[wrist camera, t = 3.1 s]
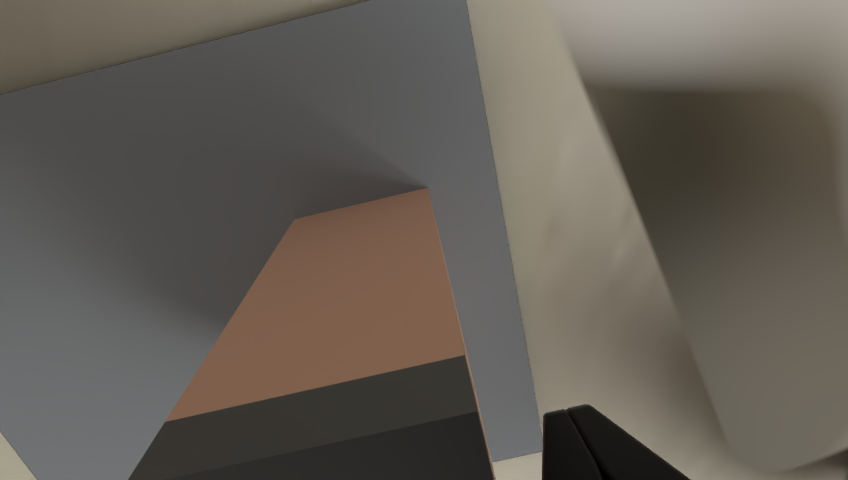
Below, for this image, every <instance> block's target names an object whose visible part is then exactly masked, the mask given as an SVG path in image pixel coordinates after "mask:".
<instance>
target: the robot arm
mask: <svg viewBox="0 0 848 480" xmlns="http://www.w3.org/2000/svg"><path fill="white" fill-rule="evenodd" d="M542 480H690V479H689V478H688V477H686V476H685V475H684V474H682V473H681V472H680V471H678V470H677V469H675V468H674V467H673V466H671V465H670V464H669V463H667V462H666V461H665V460H663V459H662V458H661V457H659V456H658V455H657V454H655V453H654V452H653V451H651V450H650V449H649V448H647V447H646V446H645V445H643V444H642V443H640V442H639V441H638V440H636V439H635V438H634V437H632V436H631V435H630V434H628V433H627V432H626V431H624V430H623V429H622V428H620V427H619V426H618V425H616V424H615V423H614V422H612V421H611V420H610V419H608V418H607V417H606V416H604V415H603V414H601V413H600V412H599V411H597V410H596V409H595V408H593V407H592V406H590V405H588V404H584V405H580V406H575V407H571V408H568V409H567V410H564V409H561V410H557V411H552V412H548V413H545V414H544V416H543V451H542Z"/></svg>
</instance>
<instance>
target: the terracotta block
mask: <svg viewBox="0 0 848 480" xmlns="http://www.w3.org/2000/svg"><path fill="white" fill-rule="evenodd" d="M128 480H496V478H495V474H494V470H493V465H492V461H491V456H490V452H489V448H488V443H487V439H486V435H485V430H484V426H483V421H482V417H481V413H480V408H479V404H478V400H477V395H476V391H475V387H474V382H473V378H472V373H471V369H470V365H469V360H468V356H467V352H466V347H465V343H464V339H463V335H462V330H461V326H460V322H459V318H458V313H457V309H456V305H455V301H454V296H453V292H452V288H451V284H450V279H449V275H448V271H447V267H446V262H445V258H444V254H443V250H442V245H441V241H440V237H439V233H438V228H437V224H436V220H435V216H434V211H433V207H432V203H431V199H430V194H429V190H428V188H424V189H420V190H415V191H411V192H407V193H403V194H399V195H394V196H390V197H386V198H382V199H378V200H373V201H369V202H365V203H361V204H357V205H352V206H348V207H344V208H340V209H336V210H331V211H327V212H323V213H319V214H315V215H310V216H306V217H302V218H298V219H294V220H293V222H292V224H291V225H290V227H289V228H288V230H287V231H286V233H285V235H284V236H283V238H282V239H281V241H280V242H279V244H278V245H277V247H276V249H275V250H274V252H273V253H272V255H271V256H270V258H269V260H268V261H267V263H266V264H265V266H264V267H263V269H262V271H261V272H260V274H259V275H258V277H257V278H256V280H255V282H254V283H253V285H252V286H251V288H250V289H249V291H248V292H247V294H246V296H245V297H244V299H243V300H242V302H241V303H240V305H239V307H238V308H237V310H236V311H235V313H234V314H233V316H232V318H231V319H230V321H229V322H228V324H227V325H226V327H225V328H224V330H223V332H222V333H221V335H220V336H219V338H218V339H217V341H216V343H215V344H214V346H213V347H212V349H211V350H210V352H209V354H208V355H207V357H206V358H205V360H204V361H203V363H202V364H201V366H200V368H199V369H198V371H197V372H196V374H195V375H194V377H193V379H192V380H191V382H190V383H189V385H188V386H187V388H186V390H185V391H184V393H183V394H182V396H181V397H180V399H179V401H178V402H177V404H176V405H175V407H174V408H173V410H172V411H171V413H170V415H169V416H168V418H167V419H166V421H165V422H164V424H163V426H162V427H161V429H160V430H159V432H158V433H157V435H156V437H155V438H154V440H153V441H152V443H151V444H150V446H149V447H148V449H147V451H146V452H145V454H144V455H143V457H142V458H141V460H140V462H139V463H138V465H137V466H136V468H135V469H134V471H133V473H132V474H131V476H130V477H129V479H128Z"/></svg>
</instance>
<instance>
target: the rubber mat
mask: <svg viewBox="0 0 848 480" xmlns="http://www.w3.org/2000/svg"><path fill="white" fill-rule="evenodd" d="M424 188H428V190H429V194H430V199H431V203H432V207H433V211H434V216H435V220H436V224H437V228H438V233H439V237H440V241H441V245H442V250H443V254H444V258H445V262H446V267H447V271H448V275H449V279H450V284H451V288H452V292H453V296H454V301H455V305H456V309H457V313H458V318H459V322H460V326H461V330H462V335H463V339H464V343H465V347H466V352H467V356H468V360H469V365H470V369H471V373H472V378H473V382H474V387H475V391H476V395H477V400H478V404H479V408H480V413H481V417H482V421H483V426H484V430H485V435H486V439H487V443H488V448H489V452H490V456H491V461H492V462H496V461H501V460H506V459H510V458H515V457H519V456H524V455H529V454H533V453H538V452H542V451H543V439H542V433H541V428H540V422H539V416H538V410H537V405H536V399H535V393H534V387H533V382H532V376H531V370H530V365H529V359H528V353H527V347H526V342H525V336H524V330H523V324H522V319H521V313H520V307H519V302H518V296H517V290H516V284H515V279H514V273H513V267H512V261H511V256H510V250H509V244H508V239H507V233H506V227H505V221H504V216H503V210H502V204H501V198H500V193H499V187H498V181H497V176H496V170H495V164H494V158H493V153H492V147H491V141H490V135H489V130H488V124H487V118H486V113H485V107H484V101H483V95H482V90H481V84H480V78H479V72H478V67H477V61H476V55H475V50H474V44H473V38H472V32H471V27H470V21H469V15H468V9H467V4H466V0H370V1H366V2H362V3H358V4H354V5H350V6H346V7H342V8H338V9H335V10H331V11H327V12H323V13H319V14H315V15H311V16H307V17H303V18H299V19H295V20H291V21H287V22H283V23H280V24H276V25H272V26H268V27H264V28H260V29H256V30H252V31H248V32H244V33H240V34H236V35H232V36H228V37H225V38H221V39H217V40H213V41H209V42H205V43H201V44H197V45H193V46H189V47H185V48H181V49H177V50H173V51H170V52H166V53H162V54H158V55H154V56H150V57H146V58H142V59H138V60H134V61H130V62H126V63H122V64H118V65H115V66H111V67H107V68H103V69H99V70H95V71H91V72H87V73H83V74H79V75H75V76H71V77H67V78H63V79H60V80H56V81H52V82H48V83H44V84H40V85H36V86H32V87H28V88H24V89H20V90H16V91H12V92H8V93H5V94H1V95H0V432H1V433H2V435H3V436H4V437H5V439H6V440H7V441H8V443H9V444H10V445H11V446H12V448H13V449H14V450H15V452H16V453H17V454H18V456H19V457H20V458H21V460H22V461H23V462H24V464H25V465H26V466H27V467H28V469H29V470H30V471H31V473H32V474H33V475H34V477H35V478H36V479H37V480H128V479H129V477H130V476H131V474H132V473H133V471H134V469H135V468H136V466H137V465H138V463H139V462H140V460H141V458H142V457H143V455H144V454H145V452H146V451H147V449H148V447H149V446H150V444H151V443H152V441H153V440H154V438H155V437H156V435H157V433H158V432H159V430H160V429H161V427H162V426H163V424H164V422H165V421H166V419H167V418H168V416H169V415H170V413H171V411H172V410H173V408H174V407H175V405H176V404H177V402H178V401H179V399H180V397H181V396H182V394H183V393H184V391H185V390H186V388H187V386H188V385H189V383H190V382H191V380H192V379H193V377H194V375H195V374H196V372H197V371H198V369H199V368H200V366H201V364H202V363H203V361H204V360H205V358H206V357H207V355H208V354H209V352H210V350H211V349H212V347H213V346H214V344H215V343H216V341H217V339H218V338H219V336H220V335H221V333H222V332H223V330H224V328H225V327H226V325H227V324H228V322H229V321H230V319H231V318H232V316H233V314H234V313H235V311H236V310H237V308H238V307H239V305H240V303H241V302H242V300H243V299H244V297H245V296H246V294H247V292H248V291H249V289H250V288H251V286H252V285H253V283H254V282H255V280H256V278H257V277H258V275H259V274H260V272H261V271H262V269H263V267H264V266H265V264H266V263H267V261H268V260H269V258H270V256H271V255H272V253H273V252H274V250H275V249H276V247H277V245H278V244H279V242H280V241H281V239H282V238H283V236H284V235H285V233H286V231H287V230H288V228H289V227H290V225H291V224H292V222H293V220H294V219H298V218H302V217H306V216H310V215H315V214H319V213H323V212H327V211H331V210H336V209H340V208H344V207H348V206H352V205H357V204H361V203H365V202H369V201H373V200H378V199H382V198H386V197H390V196H394V195H399V194H403V193H407V192H411V191H415V190H420V189H424Z"/></svg>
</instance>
